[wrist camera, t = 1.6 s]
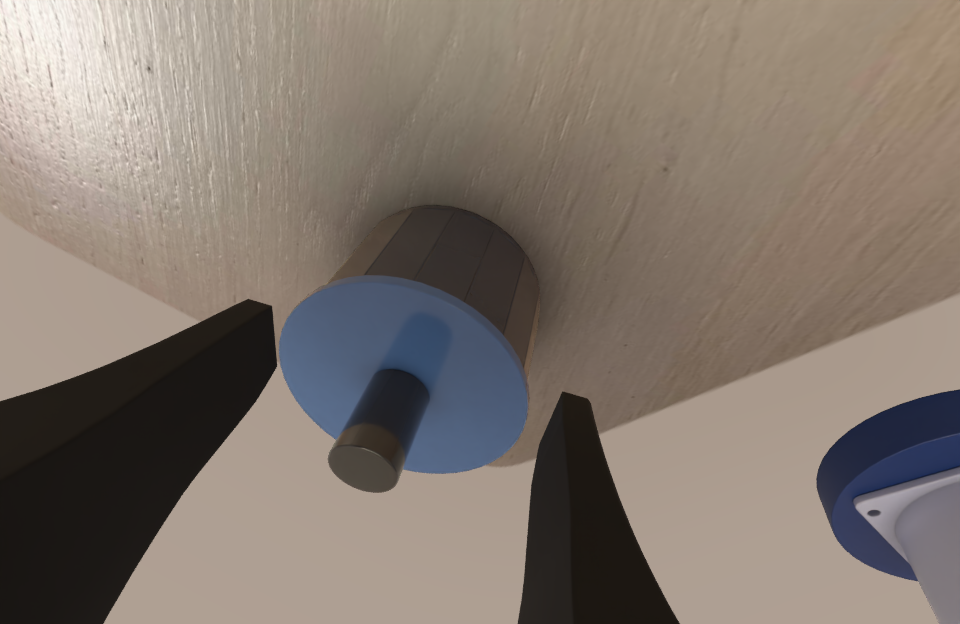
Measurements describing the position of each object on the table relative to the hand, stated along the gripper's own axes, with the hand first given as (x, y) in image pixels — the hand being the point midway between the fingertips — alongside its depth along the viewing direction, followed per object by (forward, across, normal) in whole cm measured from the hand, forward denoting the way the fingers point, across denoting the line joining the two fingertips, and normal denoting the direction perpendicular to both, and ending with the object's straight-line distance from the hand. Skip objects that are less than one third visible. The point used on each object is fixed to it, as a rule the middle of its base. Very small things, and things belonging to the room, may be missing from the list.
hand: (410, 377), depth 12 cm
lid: (+5, +1, +6) cm, 7 cm away
